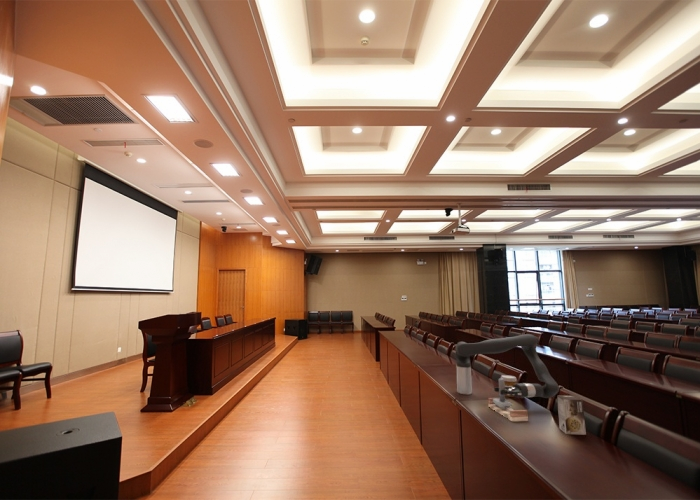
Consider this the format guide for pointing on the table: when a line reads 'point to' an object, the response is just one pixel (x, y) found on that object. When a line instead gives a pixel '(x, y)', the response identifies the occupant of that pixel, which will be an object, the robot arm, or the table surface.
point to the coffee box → (571, 414)
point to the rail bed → (506, 414)
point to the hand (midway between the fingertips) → (497, 390)
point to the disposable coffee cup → (509, 381)
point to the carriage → (502, 397)
